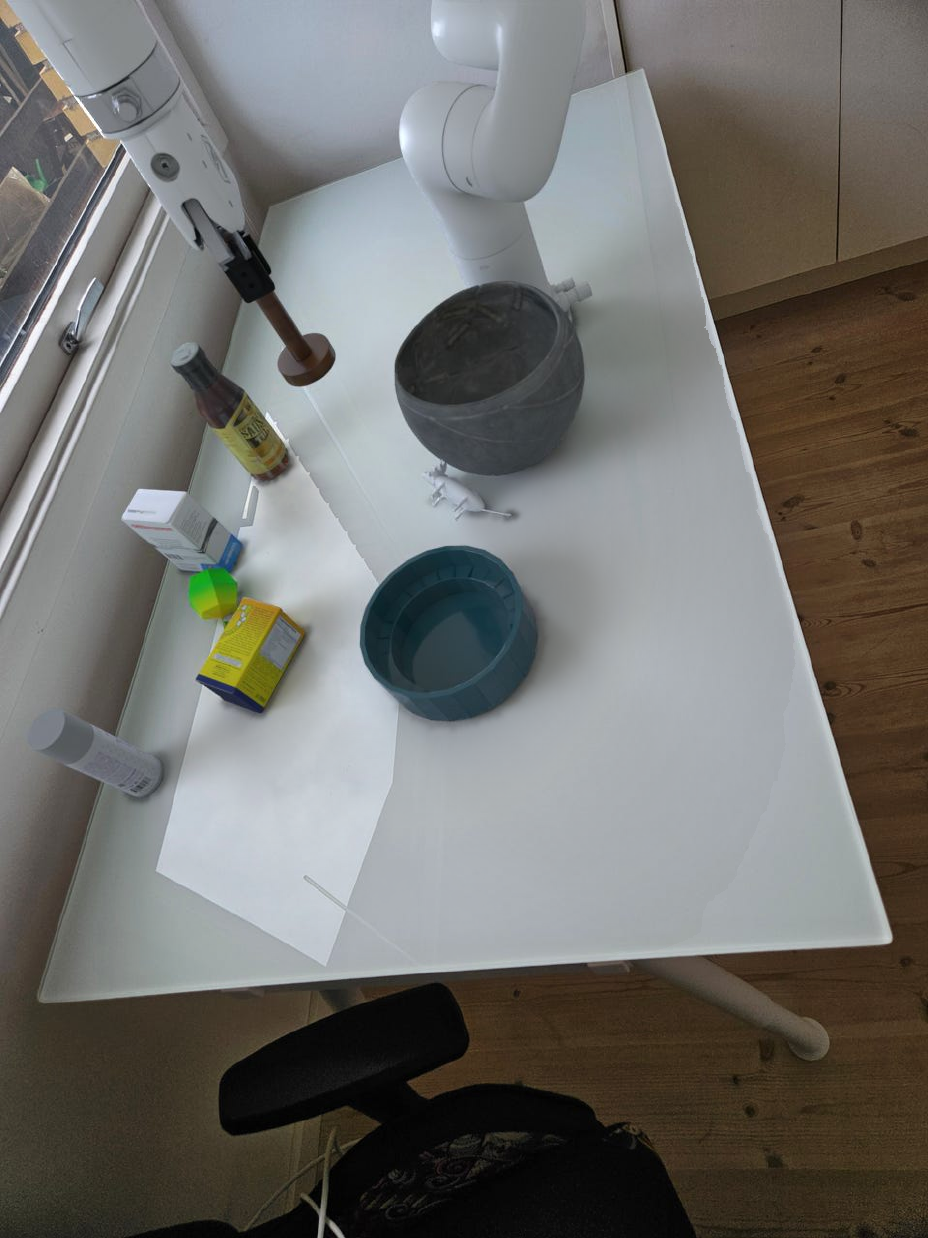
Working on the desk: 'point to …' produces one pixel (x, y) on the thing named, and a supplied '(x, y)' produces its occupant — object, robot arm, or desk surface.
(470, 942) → the desk surface
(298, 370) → the wooden potato masher
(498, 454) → the bowl
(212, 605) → the green faceted rounded lump
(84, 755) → the container
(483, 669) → the mixing bowl
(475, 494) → the white plastic figurine
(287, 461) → the sauce bottle
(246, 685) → the supplement box
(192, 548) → the ink box
